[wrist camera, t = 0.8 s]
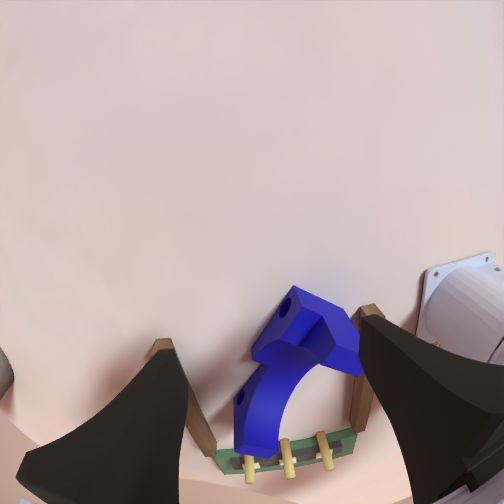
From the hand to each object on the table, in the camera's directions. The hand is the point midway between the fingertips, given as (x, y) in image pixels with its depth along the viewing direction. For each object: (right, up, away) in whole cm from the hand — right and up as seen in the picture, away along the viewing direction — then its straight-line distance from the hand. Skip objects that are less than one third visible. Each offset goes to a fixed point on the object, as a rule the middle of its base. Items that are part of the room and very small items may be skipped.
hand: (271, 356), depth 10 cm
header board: (+3, -19, +16) cm, 25 cm away
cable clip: (+1, -4, +11) cm, 12 cm away
